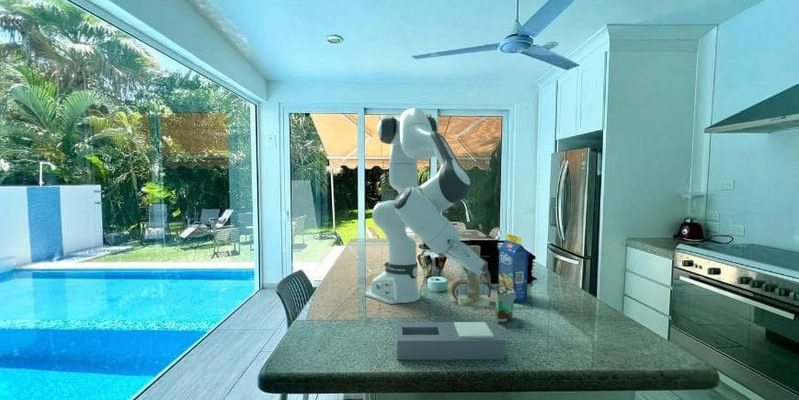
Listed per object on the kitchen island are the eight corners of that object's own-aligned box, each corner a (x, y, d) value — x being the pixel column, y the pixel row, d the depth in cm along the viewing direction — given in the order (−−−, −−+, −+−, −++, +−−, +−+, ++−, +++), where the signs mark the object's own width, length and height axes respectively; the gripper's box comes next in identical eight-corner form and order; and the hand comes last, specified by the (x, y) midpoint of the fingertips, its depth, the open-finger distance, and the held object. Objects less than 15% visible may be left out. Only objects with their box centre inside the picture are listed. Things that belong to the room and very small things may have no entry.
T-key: (460, 306, 94) (460, 247, 93) (457, 302, 97) (458, 245, 97) (489, 306, 94) (490, 247, 94) (486, 302, 97) (487, 245, 97)
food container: (517, 327, 111) (518, 296, 110) (497, 325, 112) (498, 294, 112) (513, 313, 123) (513, 285, 122) (495, 311, 124) (495, 284, 124)
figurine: (474, 288, 152) (474, 260, 151) (473, 283, 159) (474, 257, 158) (491, 289, 151) (491, 261, 150) (489, 284, 158) (490, 258, 157)
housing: (397, 359, 90) (397, 338, 90) (396, 339, 102) (396, 320, 102) (504, 359, 91) (505, 338, 90) (491, 338, 103) (491, 319, 102)
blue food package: (511, 292, 146) (513, 233, 145) (527, 301, 135) (528, 237, 133) (498, 292, 145) (499, 233, 144) (512, 302, 134) (513, 238, 132)
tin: (489, 300, 136) (489, 279, 136) (491, 303, 133) (492, 281, 133) (451, 300, 136) (451, 279, 135) (452, 303, 133) (452, 281, 132)
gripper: (466, 234, 83) (503, 272, 86) (437, 224, 103) (468, 256, 106) (448, 254, 82) (486, 292, 85) (423, 240, 102) (454, 271, 105)
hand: (475, 271), depth 96 cm, fingers closed on T-key, 3 cm apart
